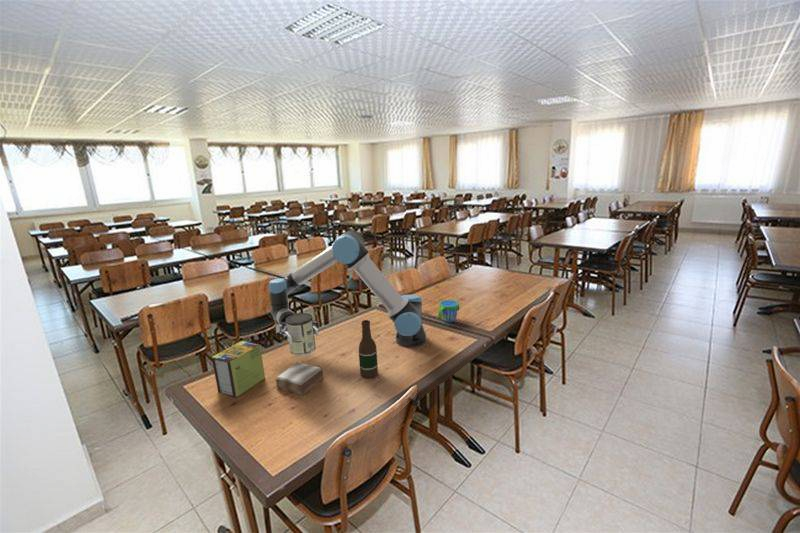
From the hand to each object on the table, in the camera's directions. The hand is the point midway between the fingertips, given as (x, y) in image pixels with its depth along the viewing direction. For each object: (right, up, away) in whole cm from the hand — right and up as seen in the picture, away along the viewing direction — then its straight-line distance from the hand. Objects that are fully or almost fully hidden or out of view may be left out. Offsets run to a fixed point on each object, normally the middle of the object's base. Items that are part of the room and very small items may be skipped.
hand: (304, 336), depth 146 cm
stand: (-3, -20, +5) cm, 21 cm away
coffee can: (-2, -7, +5) cm, 9 cm away
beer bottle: (+25, -18, +9) cm, 32 cm away
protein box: (-27, -21, +6) cm, 35 cm away
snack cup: (+65, -3, +61) cm, 89 cm away
